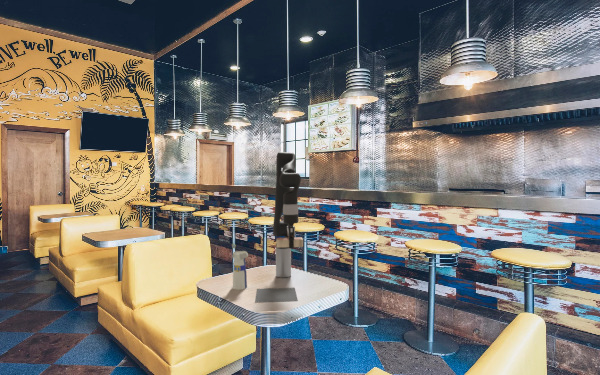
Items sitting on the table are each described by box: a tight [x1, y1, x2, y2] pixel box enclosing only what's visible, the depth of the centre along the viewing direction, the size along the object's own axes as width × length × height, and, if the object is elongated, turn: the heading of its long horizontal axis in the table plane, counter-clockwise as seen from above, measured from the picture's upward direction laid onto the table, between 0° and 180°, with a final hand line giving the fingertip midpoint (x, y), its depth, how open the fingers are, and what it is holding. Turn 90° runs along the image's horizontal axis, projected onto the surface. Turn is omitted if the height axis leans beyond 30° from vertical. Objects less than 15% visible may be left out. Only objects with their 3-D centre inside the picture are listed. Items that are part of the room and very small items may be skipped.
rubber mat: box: [254, 287, 299, 304], centre depth 165 cm, size 21×20×1 cm
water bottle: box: [231, 242, 249, 291], centre depth 177 cm, size 8×9×25 cm
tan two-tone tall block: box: [275, 236, 304, 249], centre depth 164 cm, size 6×4×13 cm
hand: (291, 246), depth 164 cm, fingers closed on tan two-tone tall block, 6 cm apart
